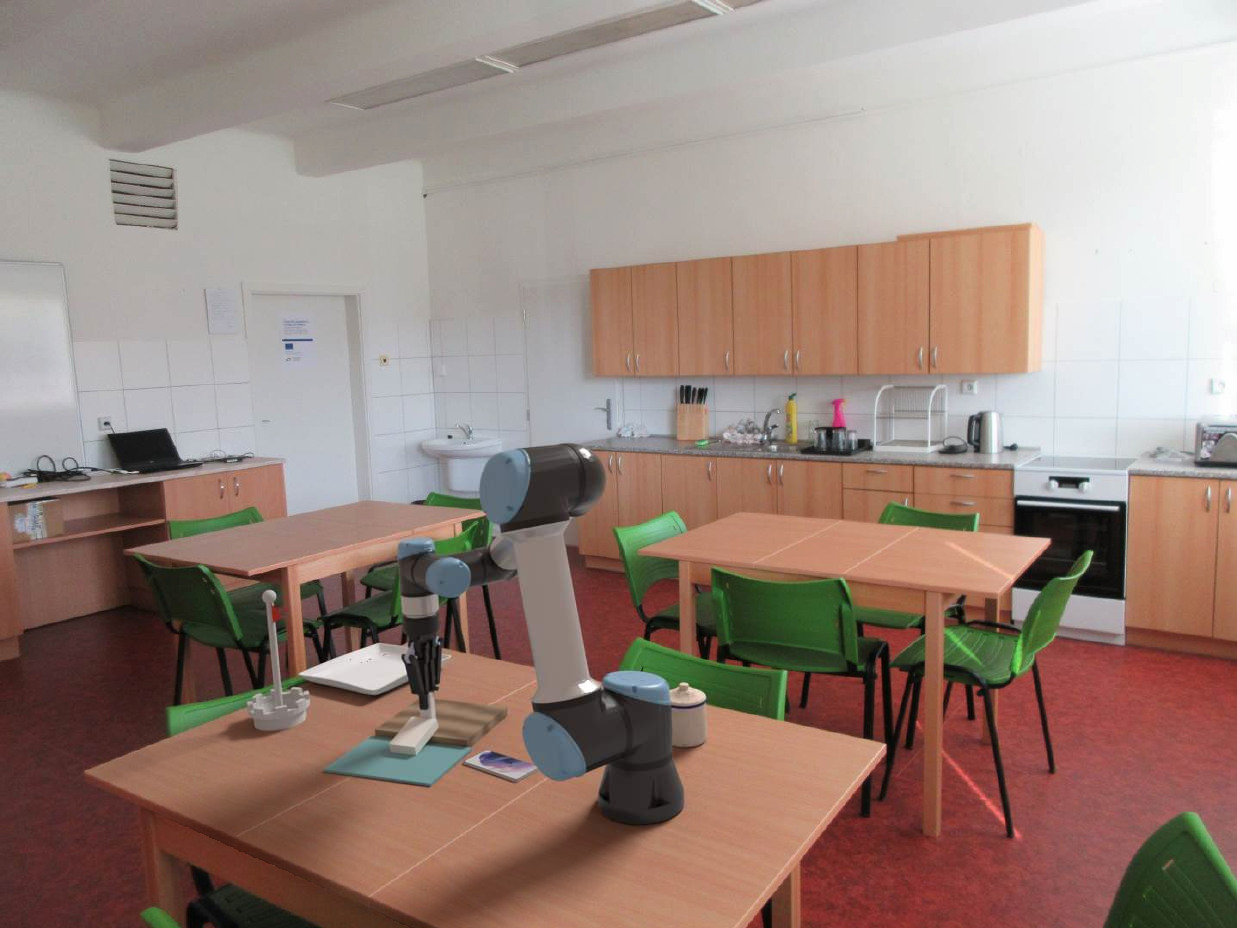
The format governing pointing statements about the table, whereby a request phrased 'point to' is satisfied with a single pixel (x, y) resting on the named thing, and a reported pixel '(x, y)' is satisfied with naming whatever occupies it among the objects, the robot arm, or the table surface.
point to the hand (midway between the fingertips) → (428, 722)
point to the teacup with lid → (688, 716)
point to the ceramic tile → (413, 736)
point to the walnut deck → (450, 721)
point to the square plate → (365, 669)
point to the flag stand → (277, 687)
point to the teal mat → (398, 762)
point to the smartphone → (501, 765)
